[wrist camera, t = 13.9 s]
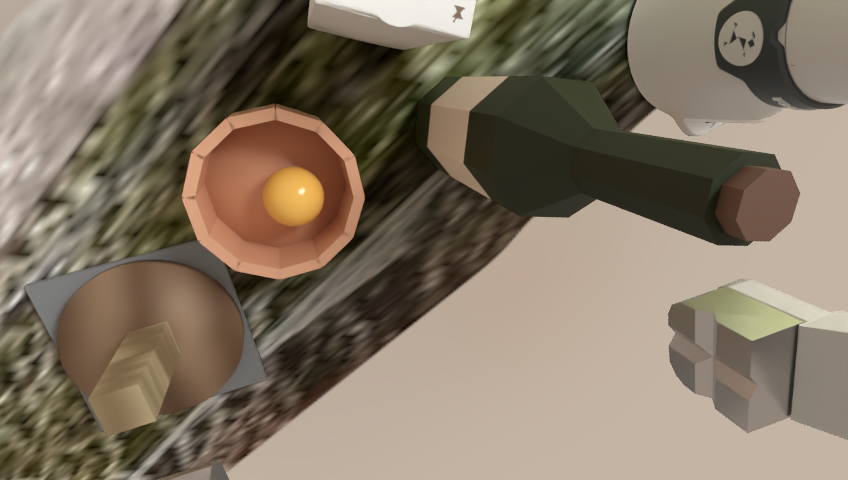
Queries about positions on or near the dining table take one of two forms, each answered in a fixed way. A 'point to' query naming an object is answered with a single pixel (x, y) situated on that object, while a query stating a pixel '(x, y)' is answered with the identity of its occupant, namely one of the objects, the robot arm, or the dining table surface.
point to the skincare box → (394, 20)
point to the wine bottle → (595, 160)
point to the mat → (60, 289)
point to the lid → (149, 341)
